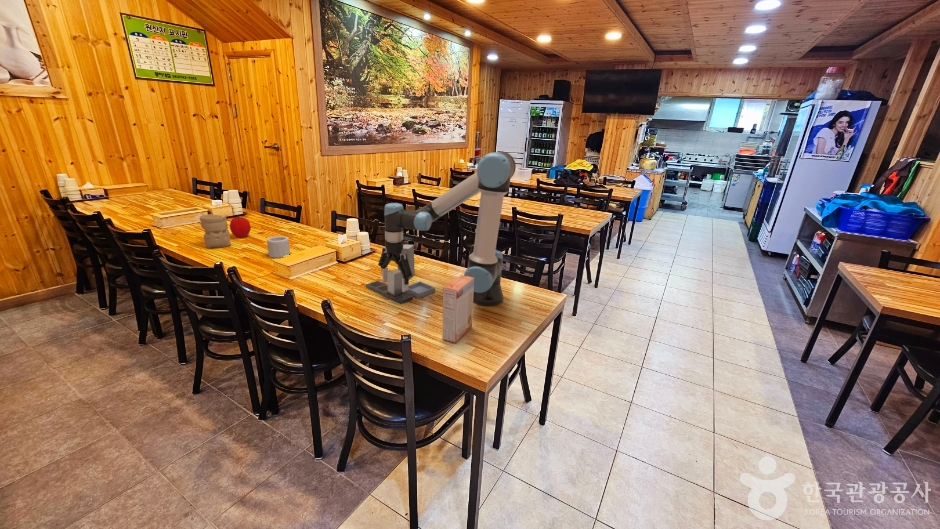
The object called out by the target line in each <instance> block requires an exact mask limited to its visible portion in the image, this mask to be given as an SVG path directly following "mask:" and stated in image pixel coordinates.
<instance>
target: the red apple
mask: <svg viewBox="0 0 940 529" xmlns="http://www.w3.org/2000/svg"><path fill="white" fill-rule="evenodd" d="M229 229H230V231H231V233H232V235H233V237H236V238H246V237H247V236H249V234H250V233H251V224H250V221H249V220H248V219H247V218H245V217H244V216H242V217H241V216H237V217H233V218H232V219H231V220H230V223H229Z"/></svg>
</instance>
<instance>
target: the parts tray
mask: <svg viewBox="0 0 940 529" xmlns="http://www.w3.org/2000/svg"><path fill="white" fill-rule="evenodd" d="M405 293H407V294H409V295H411V296H413V298H416V299H418V300H420V299H422V298H425V297H426V296H430V295H432V294H436V287H435V286H433V285H430V284H428V283H425V282H423V281H421V280H420V281H417V282H413V283H412V284H411V283H410V284H408V290H407V291H405Z"/></svg>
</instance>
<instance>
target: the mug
mask: <svg viewBox="0 0 940 529" xmlns="http://www.w3.org/2000/svg"><path fill="white" fill-rule="evenodd" d="M289 240H290V239H289V237H287V236H283V235H275V236H272V237H267V239H266V243H267V244H266V245H267V253H268V256H269V258H271V259H281V258H280V257H283V256H285V255H288V254H290V255H291V248H290V241H289Z"/></svg>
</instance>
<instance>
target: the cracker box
mask: <svg viewBox="0 0 940 529" xmlns="http://www.w3.org/2000/svg"><path fill="white" fill-rule="evenodd" d="M473 293H474V278H473V277H468V276H464V274H461V275H459V276H457V277H456V278H455V279H454V280H452V281H450V282H449V283H448V284H446V285H444V286H443V287H442V294H443V295H442V340H444V341H448V342H450V343H454V344H457V343H458V342H459V340H461V338H462V337H464V336H465V334H466V333H467V332H468V331H469V330H470V329H471V328H472V327H473V312H474V311H473V310H474V302H473Z"/></svg>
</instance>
